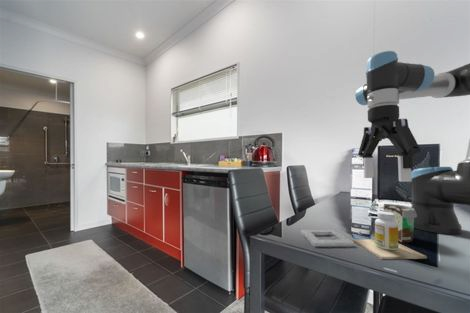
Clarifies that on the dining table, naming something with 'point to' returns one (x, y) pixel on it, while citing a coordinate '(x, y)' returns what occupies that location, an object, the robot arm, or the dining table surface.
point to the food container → (403, 220)
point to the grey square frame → (338, 242)
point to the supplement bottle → (386, 231)
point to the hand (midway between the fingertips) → (385, 179)
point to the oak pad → (401, 253)
